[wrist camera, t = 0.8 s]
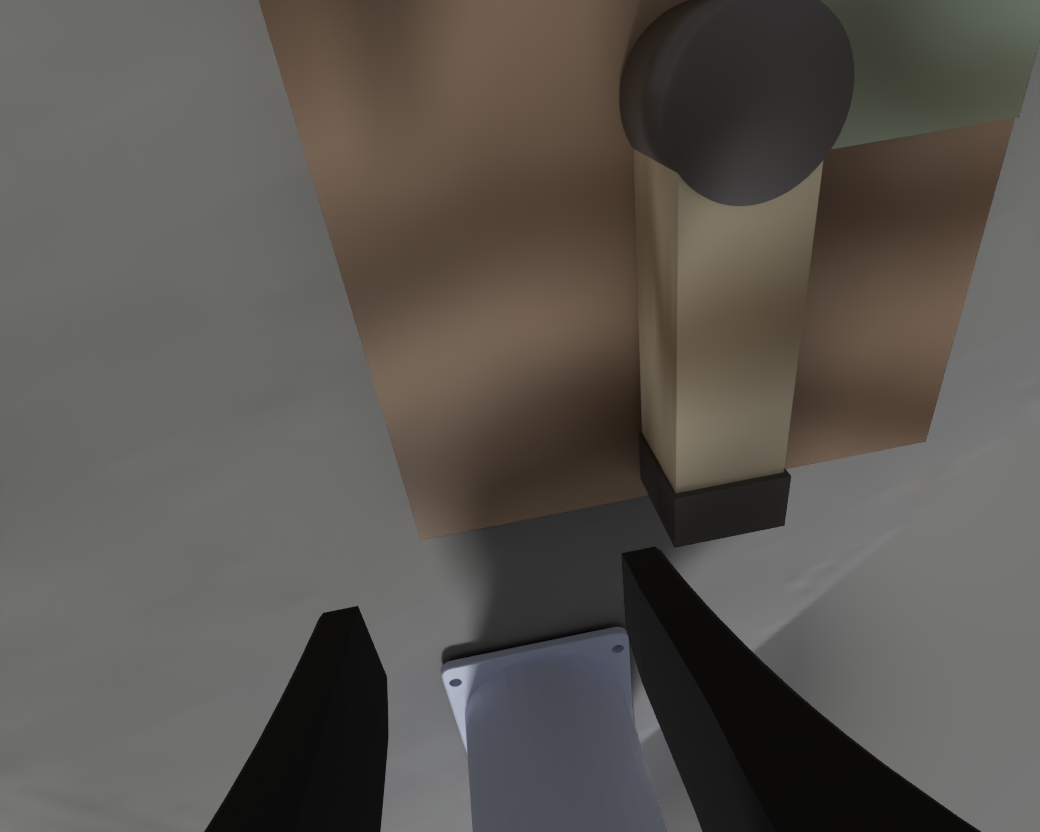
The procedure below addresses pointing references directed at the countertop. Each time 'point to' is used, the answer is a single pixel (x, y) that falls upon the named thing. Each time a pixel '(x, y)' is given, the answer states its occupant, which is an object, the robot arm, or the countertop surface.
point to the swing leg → (727, 245)
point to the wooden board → (620, 230)
